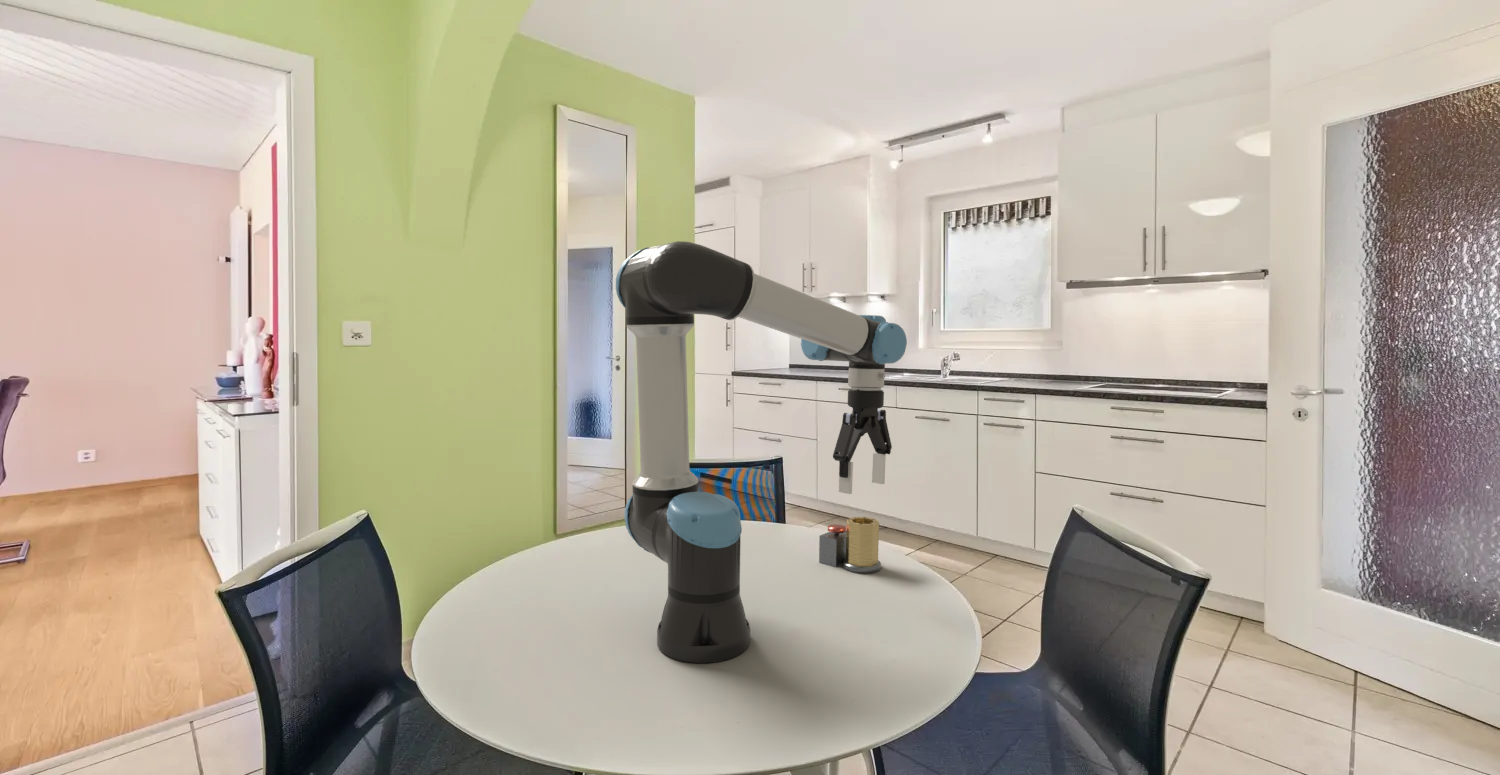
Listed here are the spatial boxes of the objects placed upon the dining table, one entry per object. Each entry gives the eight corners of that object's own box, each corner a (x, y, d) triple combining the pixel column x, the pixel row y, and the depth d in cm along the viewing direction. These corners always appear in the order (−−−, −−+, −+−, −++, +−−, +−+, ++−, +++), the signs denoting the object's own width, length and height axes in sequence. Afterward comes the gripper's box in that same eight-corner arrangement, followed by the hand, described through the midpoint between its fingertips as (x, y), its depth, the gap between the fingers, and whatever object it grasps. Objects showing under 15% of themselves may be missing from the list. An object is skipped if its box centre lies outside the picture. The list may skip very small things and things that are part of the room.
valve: (868, 576, 141) (869, 537, 141) (817, 562, 150) (818, 526, 149) (887, 566, 148) (888, 529, 147) (837, 554, 156) (838, 518, 155)
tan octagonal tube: (867, 569, 142) (868, 526, 142) (841, 562, 147) (841, 521, 146) (882, 561, 147) (883, 520, 147) (856, 555, 151) (857, 515, 151)
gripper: (849, 392, 132) (846, 500, 134) (909, 387, 151) (905, 482, 153) (817, 389, 137) (814, 494, 138) (879, 385, 156) (876, 477, 157)
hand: (862, 488), depth 145 cm, fingers open, 13 cm apart
